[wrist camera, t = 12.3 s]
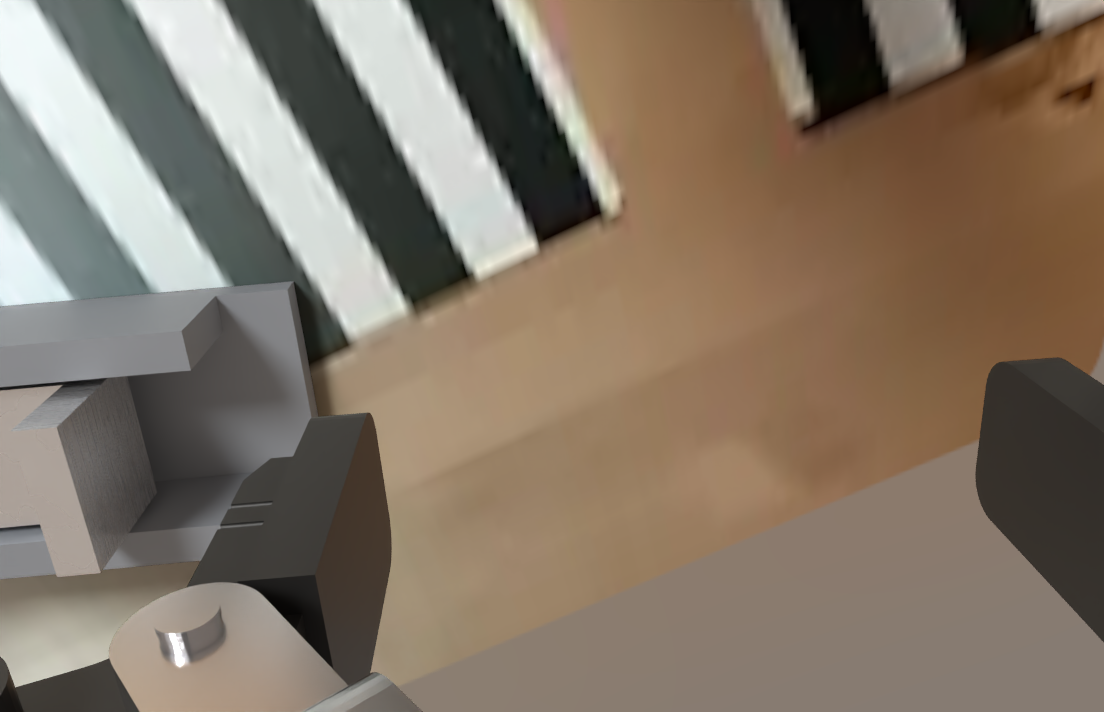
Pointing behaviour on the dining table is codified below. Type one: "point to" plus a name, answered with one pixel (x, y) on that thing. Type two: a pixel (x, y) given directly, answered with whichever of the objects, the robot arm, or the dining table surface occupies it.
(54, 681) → the robot arm
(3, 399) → the notched taupe block
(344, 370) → the dining table surface
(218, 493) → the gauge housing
